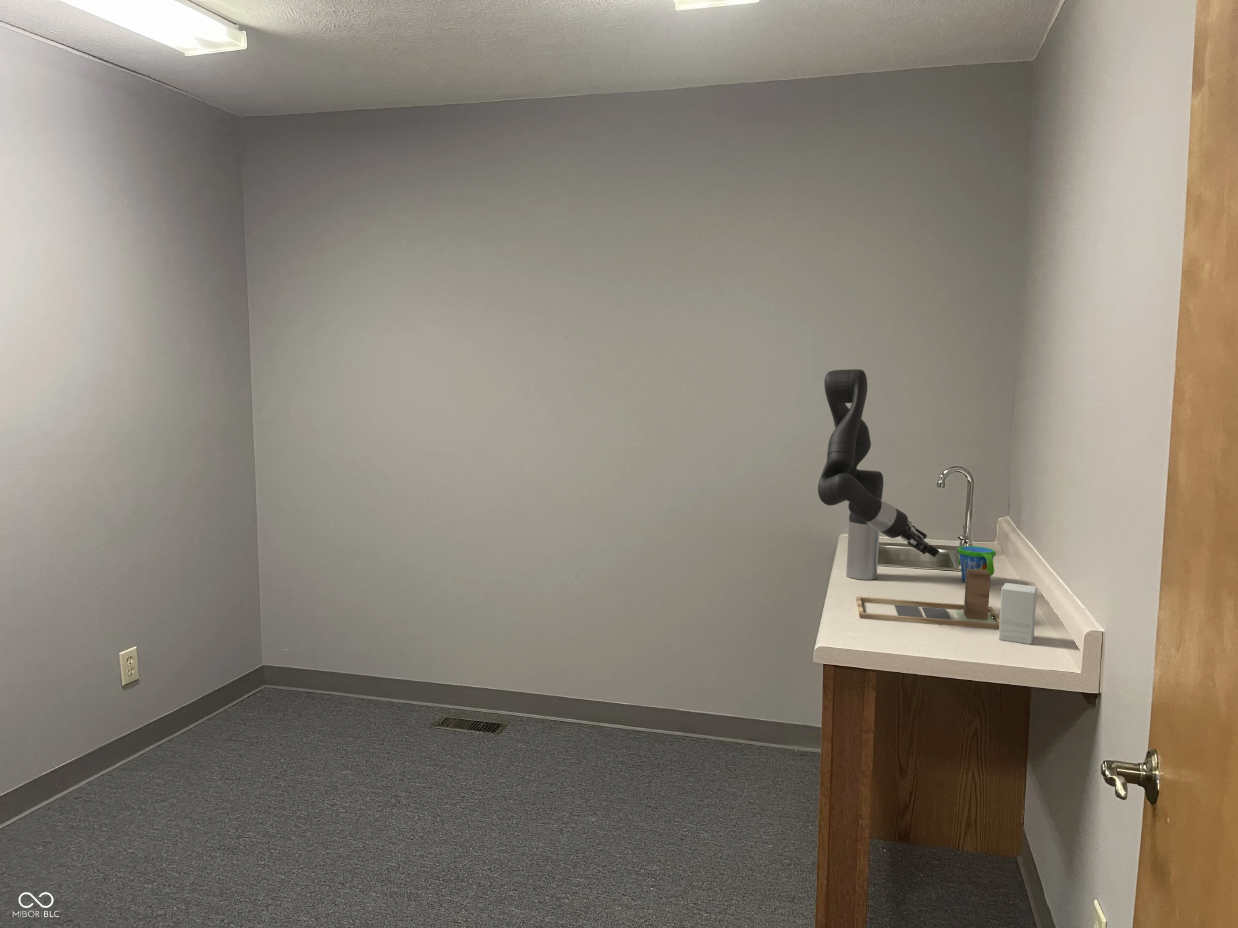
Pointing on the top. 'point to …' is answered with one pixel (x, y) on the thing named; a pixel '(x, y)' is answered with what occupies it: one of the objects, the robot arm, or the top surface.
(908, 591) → the top surface
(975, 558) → the snack cup
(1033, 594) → the supplement box
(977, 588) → the walnut block
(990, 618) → the pad
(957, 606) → the tray
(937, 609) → the trap squares
